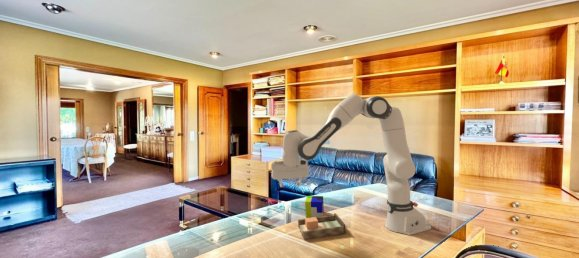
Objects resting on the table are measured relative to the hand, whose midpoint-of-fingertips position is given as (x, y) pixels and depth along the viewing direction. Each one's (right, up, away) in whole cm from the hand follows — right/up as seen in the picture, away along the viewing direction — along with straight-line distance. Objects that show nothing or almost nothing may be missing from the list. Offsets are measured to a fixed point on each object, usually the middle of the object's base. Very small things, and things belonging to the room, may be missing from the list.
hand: (290, 186), depth 138 cm
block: (+12, -22, 0) cm, 25 cm away
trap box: (+17, -24, +1) cm, 29 cm away
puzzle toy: (+16, -22, +21) cm, 35 cm away
